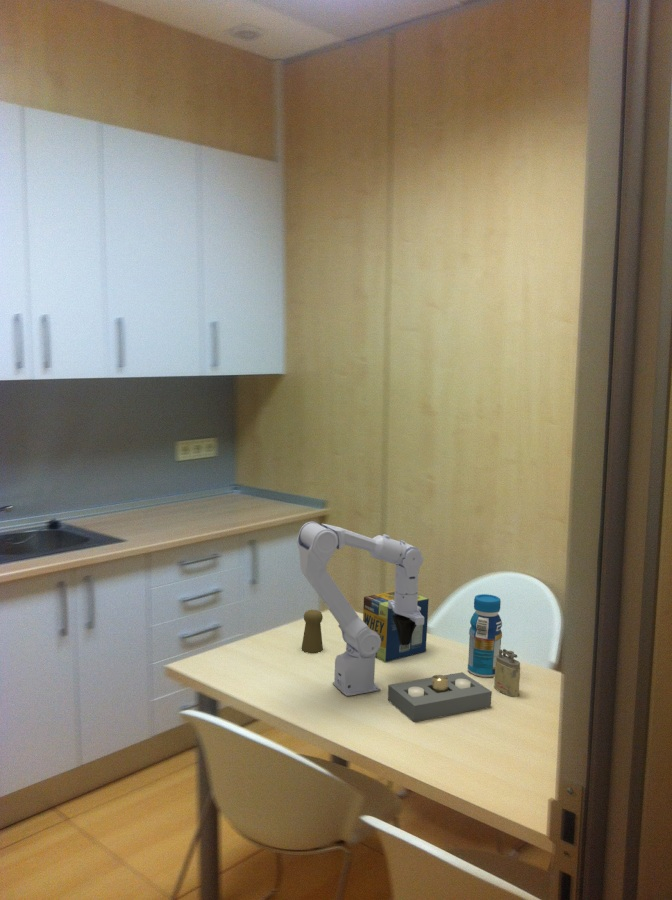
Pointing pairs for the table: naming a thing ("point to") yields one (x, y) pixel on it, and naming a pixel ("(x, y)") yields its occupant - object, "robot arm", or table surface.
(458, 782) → the table surface
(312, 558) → the robot arm
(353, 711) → the table surface
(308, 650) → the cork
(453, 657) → the table surface
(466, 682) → the far knob
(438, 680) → the brass knob
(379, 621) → the protein box
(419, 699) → the grey slotted block
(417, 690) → the near knob
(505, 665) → the lighter
